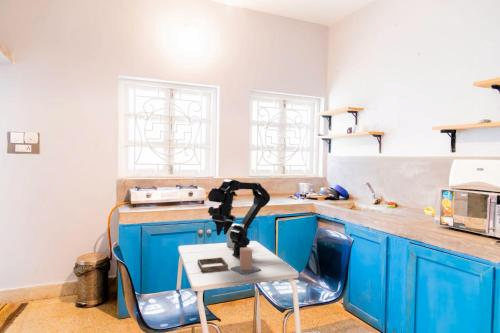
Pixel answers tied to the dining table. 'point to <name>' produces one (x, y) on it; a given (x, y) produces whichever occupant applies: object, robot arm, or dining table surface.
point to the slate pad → (244, 272)
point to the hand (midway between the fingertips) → (221, 234)
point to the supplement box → (229, 241)
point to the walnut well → (212, 268)
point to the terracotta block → (246, 258)
